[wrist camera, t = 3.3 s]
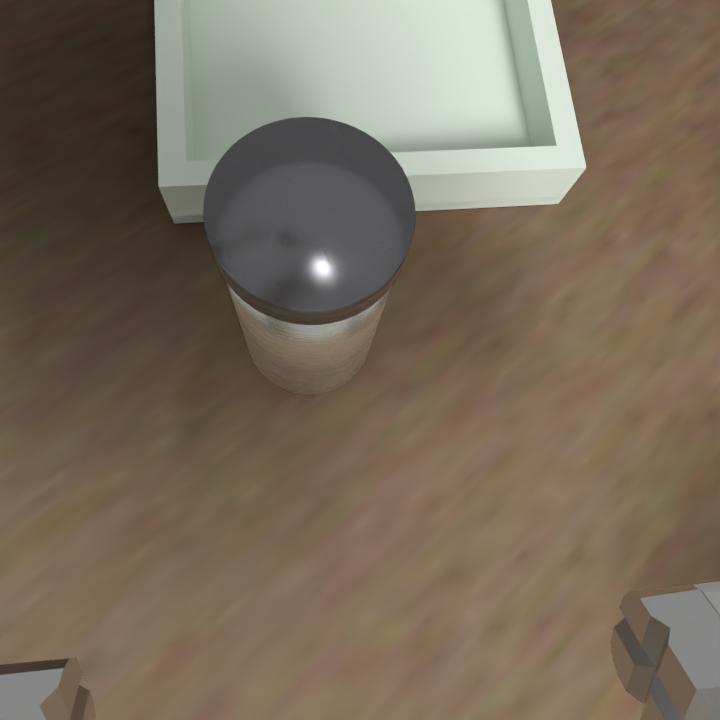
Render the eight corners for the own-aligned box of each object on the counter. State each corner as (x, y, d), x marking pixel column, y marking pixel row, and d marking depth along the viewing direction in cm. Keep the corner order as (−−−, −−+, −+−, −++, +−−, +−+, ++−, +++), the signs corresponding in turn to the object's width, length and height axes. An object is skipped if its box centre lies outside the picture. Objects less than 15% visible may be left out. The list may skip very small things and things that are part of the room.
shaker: (247, 402, 24) (207, 315, 14) (240, 278, 25) (199, 120, 15) (379, 391, 24) (428, 301, 15) (366, 270, 26) (402, 113, 16)
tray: (173, 223, 25) (158, 187, 23) (165, -92, 29) (151, -154, 27) (558, 203, 27) (586, 167, 24) (500, -92, 31) (518, -151, 28)
